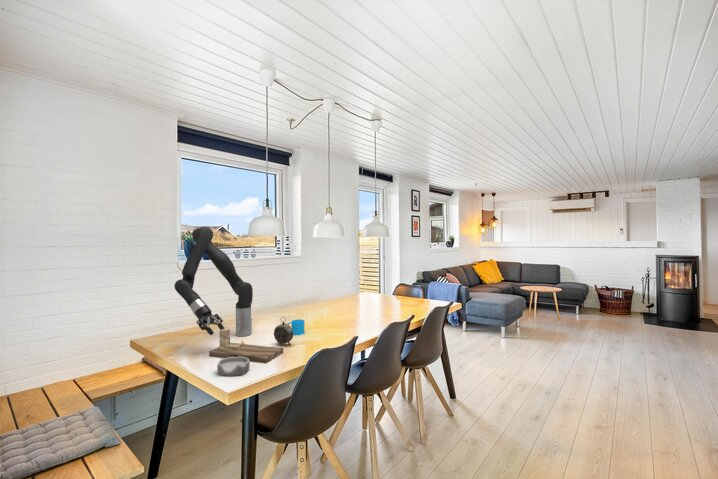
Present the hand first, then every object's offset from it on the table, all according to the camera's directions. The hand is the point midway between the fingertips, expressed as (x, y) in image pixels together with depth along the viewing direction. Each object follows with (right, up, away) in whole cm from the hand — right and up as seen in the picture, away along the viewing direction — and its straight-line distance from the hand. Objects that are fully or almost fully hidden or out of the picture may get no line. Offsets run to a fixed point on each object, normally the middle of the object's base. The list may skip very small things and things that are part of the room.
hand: (218, 332), depth 185 cm
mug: (+34, -11, +38) cm, 52 cm away
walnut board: (+16, -11, -3) cm, 20 cm away
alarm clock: (+32, -11, +13) cm, 36 cm away
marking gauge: (+8, -8, +1) cm, 12 cm away
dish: (+18, -11, -25) cm, 33 cm away
